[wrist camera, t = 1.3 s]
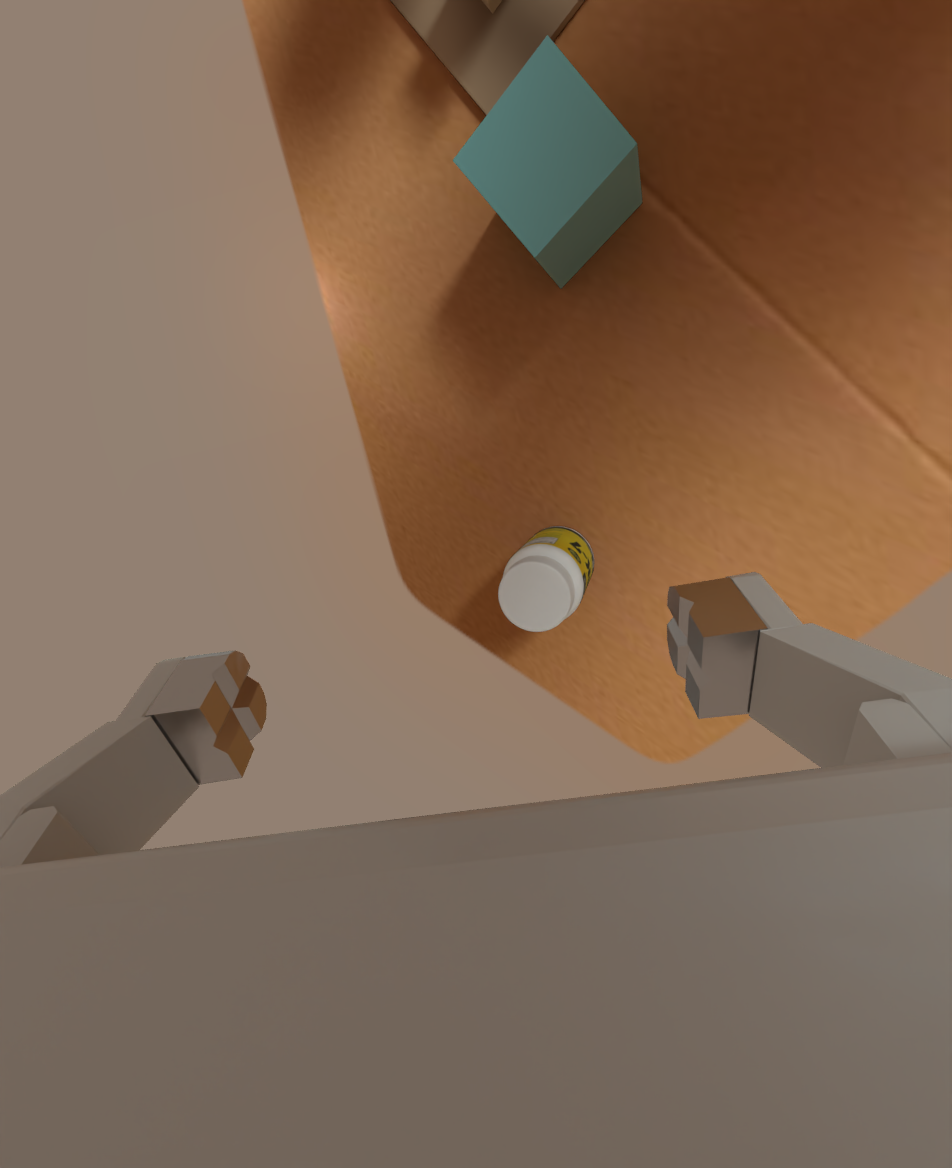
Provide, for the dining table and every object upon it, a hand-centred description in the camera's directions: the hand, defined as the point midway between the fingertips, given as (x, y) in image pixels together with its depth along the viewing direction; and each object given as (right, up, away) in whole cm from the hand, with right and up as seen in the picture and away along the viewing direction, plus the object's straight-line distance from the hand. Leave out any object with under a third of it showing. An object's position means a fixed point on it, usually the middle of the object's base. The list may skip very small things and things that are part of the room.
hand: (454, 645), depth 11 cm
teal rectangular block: (+6, +22, +21) cm, 31 cm away
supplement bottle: (+6, +3, +27) cm, 28 cm away
